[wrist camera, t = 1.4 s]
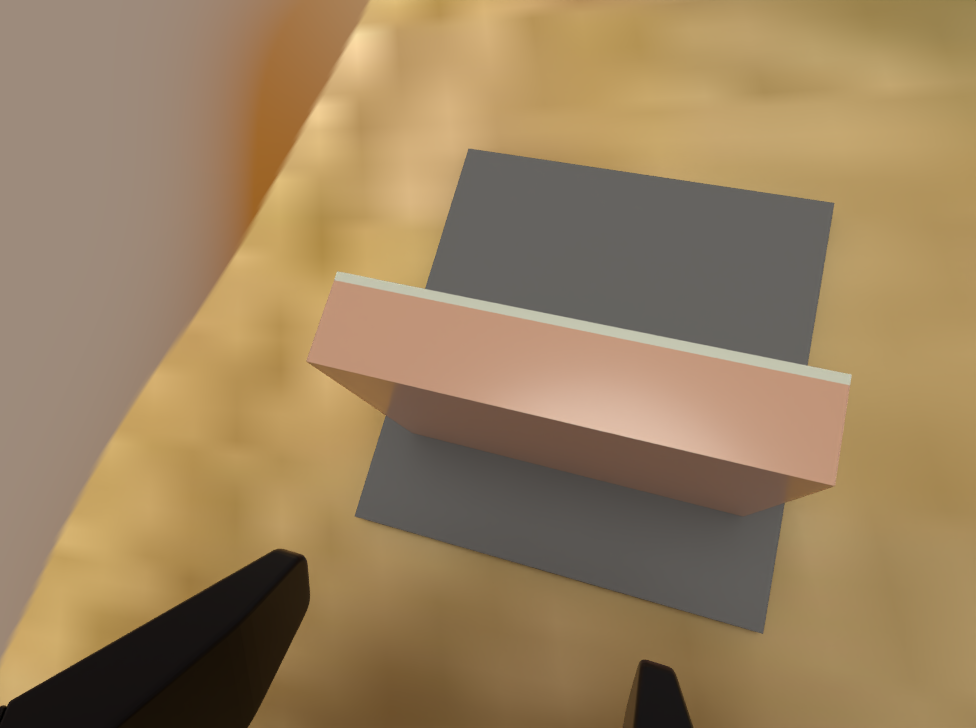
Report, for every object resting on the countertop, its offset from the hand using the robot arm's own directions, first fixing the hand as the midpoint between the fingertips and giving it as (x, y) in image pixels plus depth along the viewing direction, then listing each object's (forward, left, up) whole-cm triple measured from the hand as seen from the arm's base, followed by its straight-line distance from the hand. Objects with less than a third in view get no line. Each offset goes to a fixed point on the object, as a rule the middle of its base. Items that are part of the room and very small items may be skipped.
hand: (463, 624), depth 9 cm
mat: (+6, +4, -12) cm, 14 cm away
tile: (+4, +2, -11) cm, 12 cm away
